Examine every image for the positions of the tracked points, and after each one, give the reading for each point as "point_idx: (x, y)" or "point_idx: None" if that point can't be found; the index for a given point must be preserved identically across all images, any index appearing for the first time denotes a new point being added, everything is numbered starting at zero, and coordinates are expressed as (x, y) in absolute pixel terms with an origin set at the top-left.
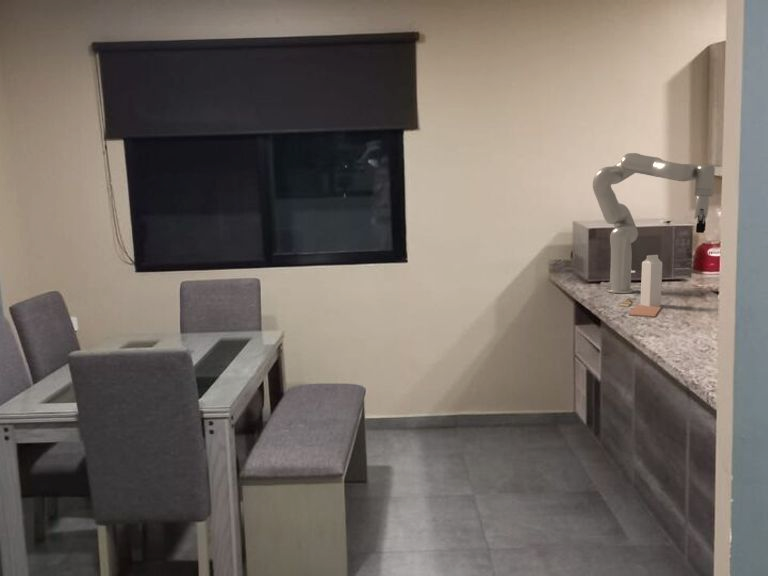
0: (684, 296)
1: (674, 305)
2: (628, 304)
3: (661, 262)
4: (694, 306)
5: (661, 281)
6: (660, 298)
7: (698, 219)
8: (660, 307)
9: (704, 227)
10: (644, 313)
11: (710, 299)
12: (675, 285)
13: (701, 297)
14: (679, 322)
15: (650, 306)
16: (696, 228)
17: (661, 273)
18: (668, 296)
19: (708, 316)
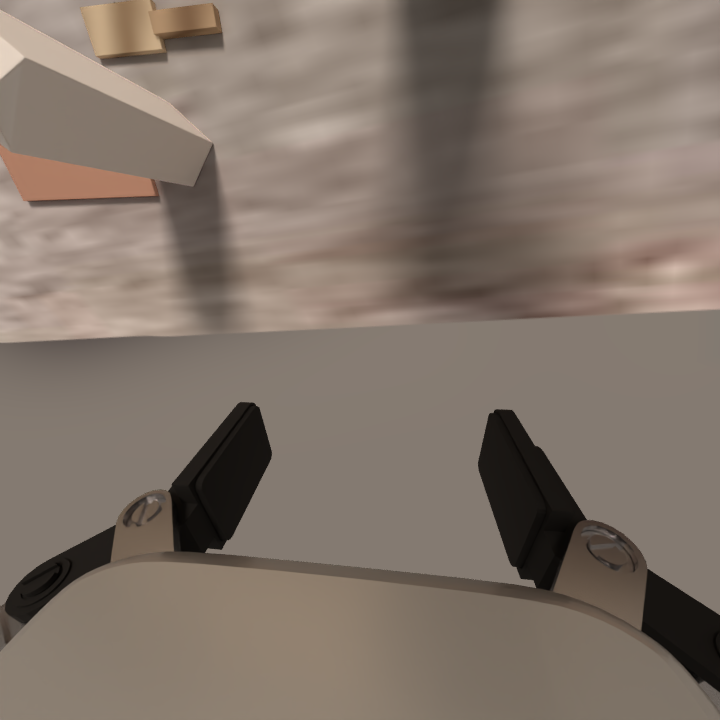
0: (402, 241)
1: (229, 231)
2: (118, 49)
3: (4, 144)
4: (246, 290)
5: (118, 172)
6: (173, 182)
7: (38, 573)
8: (146, 195)
9: (488, 492)
10: (27, 160)
11: (374, 323)
12: (684, 165)
13: (400, 297)
14: (33, 274)
15: None
16: (216, 431)
17: (77, 163)
18: (384, 182)
19: (145, 331)
